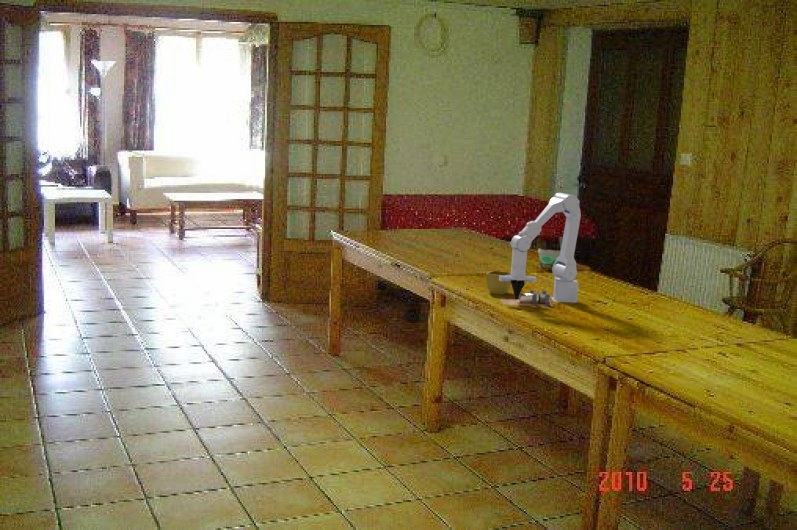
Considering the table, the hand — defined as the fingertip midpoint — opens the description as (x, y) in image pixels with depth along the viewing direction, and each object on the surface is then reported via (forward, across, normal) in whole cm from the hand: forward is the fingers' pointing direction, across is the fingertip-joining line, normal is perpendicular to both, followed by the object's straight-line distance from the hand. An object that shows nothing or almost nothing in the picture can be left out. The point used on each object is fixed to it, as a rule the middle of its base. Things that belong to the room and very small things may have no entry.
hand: (516, 299), depth 330 cm
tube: (+1, +7, 0) cm, 7 cm away
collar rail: (+2, +9, 0) cm, 9 cm away
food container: (+2, +28, +74) cm, 79 cm away
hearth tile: (+2, +4, 0) cm, 4 cm away
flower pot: (+2, -5, +16) cm, 17 cm away
